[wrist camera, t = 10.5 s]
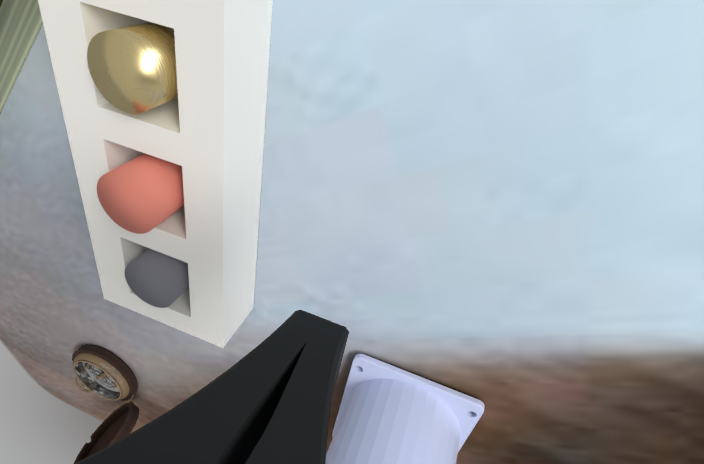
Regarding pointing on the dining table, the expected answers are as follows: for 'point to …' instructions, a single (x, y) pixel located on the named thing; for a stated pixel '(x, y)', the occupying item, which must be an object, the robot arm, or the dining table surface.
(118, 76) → the brass plug
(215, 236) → the socket board
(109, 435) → the compass
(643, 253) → the dining table surface
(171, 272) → the gray plug
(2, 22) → the hardcover book
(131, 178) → the red plug
